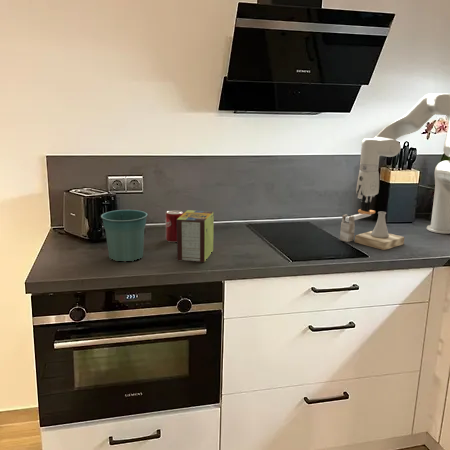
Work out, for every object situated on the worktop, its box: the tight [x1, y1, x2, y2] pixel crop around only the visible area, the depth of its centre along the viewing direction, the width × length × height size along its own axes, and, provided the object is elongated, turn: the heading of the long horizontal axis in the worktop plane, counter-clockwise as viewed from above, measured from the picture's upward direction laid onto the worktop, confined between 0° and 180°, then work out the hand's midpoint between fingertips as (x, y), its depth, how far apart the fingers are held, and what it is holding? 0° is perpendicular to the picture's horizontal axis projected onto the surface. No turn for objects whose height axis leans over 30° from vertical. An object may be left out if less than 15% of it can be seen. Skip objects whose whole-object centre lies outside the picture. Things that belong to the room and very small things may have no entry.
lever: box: [345, 208, 376, 222], centre depth 220 cm, size 15×6×3 cm, turn 130°
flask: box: [371, 211, 390, 238], centre depth 213 cm, size 7×7×10 cm
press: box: [339, 214, 405, 251], centre depth 215 cm, size 16×20×10 cm
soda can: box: [164, 209, 184, 243], centre depth 212 cm, size 7×7×12 cm
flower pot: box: [100, 209, 148, 262], centre depth 189 cm, size 16×16×16 cm
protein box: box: [176, 209, 215, 263], centre depth 193 cm, size 10×15×16 cm
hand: (365, 210), depth 223 cm, fingers closed
